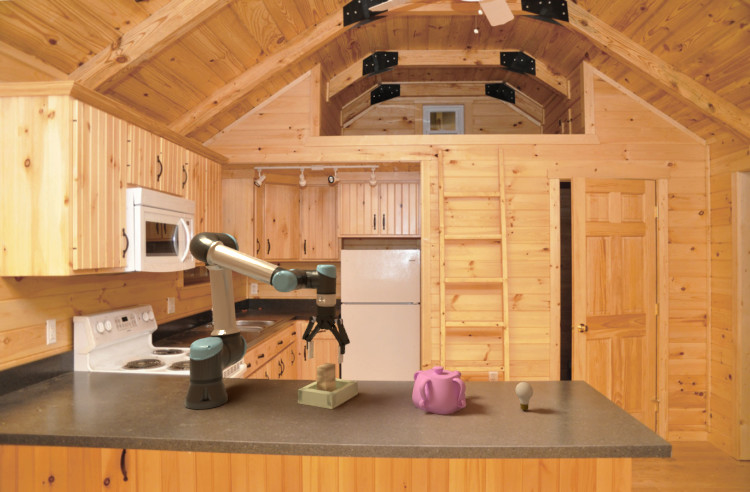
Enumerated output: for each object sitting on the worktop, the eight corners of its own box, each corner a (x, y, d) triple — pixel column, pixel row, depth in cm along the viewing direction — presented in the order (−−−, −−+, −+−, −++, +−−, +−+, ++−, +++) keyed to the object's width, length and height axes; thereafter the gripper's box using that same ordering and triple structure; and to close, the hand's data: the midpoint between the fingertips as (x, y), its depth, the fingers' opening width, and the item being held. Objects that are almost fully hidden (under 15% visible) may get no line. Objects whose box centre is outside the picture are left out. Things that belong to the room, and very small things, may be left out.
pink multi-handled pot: (413, 415, 153) (412, 373, 153) (411, 395, 173) (411, 359, 174) (469, 416, 152) (468, 374, 152) (461, 396, 172) (460, 359, 173)
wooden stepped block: (316, 398, 167) (316, 367, 167) (331, 391, 176) (330, 361, 176) (325, 400, 165) (325, 368, 166) (339, 392, 174) (339, 362, 175)
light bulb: (533, 408, 158) (532, 380, 158) (533, 414, 152) (533, 385, 153) (515, 407, 160) (515, 379, 160) (515, 412, 154) (515, 383, 154)
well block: (297, 403, 166) (297, 389, 166) (325, 388, 183) (325, 376, 183) (331, 409, 159) (331, 395, 159) (357, 393, 176) (357, 381, 176)
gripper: (293, 303, 172) (292, 358, 172) (349, 308, 161) (348, 367, 161) (305, 301, 179) (304, 354, 179) (359, 306, 168) (358, 362, 167)
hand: (325, 360), depth 170 cm, fingers open, 13 cm apart
